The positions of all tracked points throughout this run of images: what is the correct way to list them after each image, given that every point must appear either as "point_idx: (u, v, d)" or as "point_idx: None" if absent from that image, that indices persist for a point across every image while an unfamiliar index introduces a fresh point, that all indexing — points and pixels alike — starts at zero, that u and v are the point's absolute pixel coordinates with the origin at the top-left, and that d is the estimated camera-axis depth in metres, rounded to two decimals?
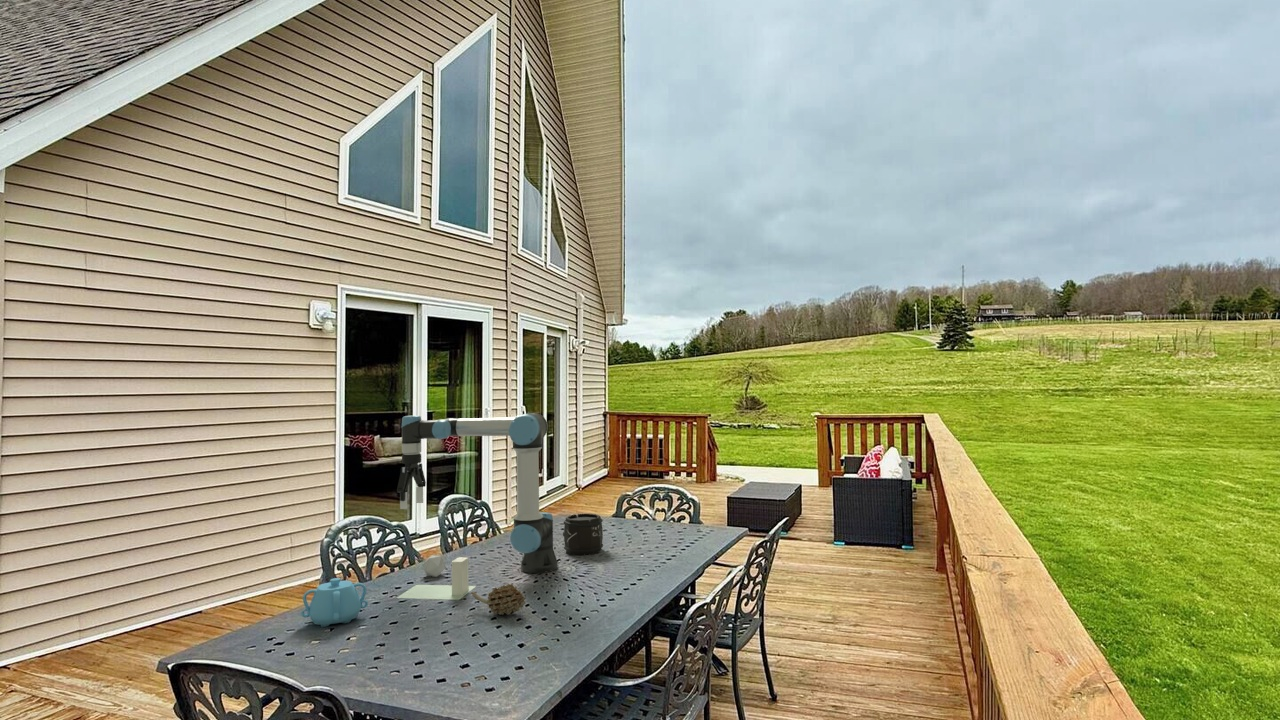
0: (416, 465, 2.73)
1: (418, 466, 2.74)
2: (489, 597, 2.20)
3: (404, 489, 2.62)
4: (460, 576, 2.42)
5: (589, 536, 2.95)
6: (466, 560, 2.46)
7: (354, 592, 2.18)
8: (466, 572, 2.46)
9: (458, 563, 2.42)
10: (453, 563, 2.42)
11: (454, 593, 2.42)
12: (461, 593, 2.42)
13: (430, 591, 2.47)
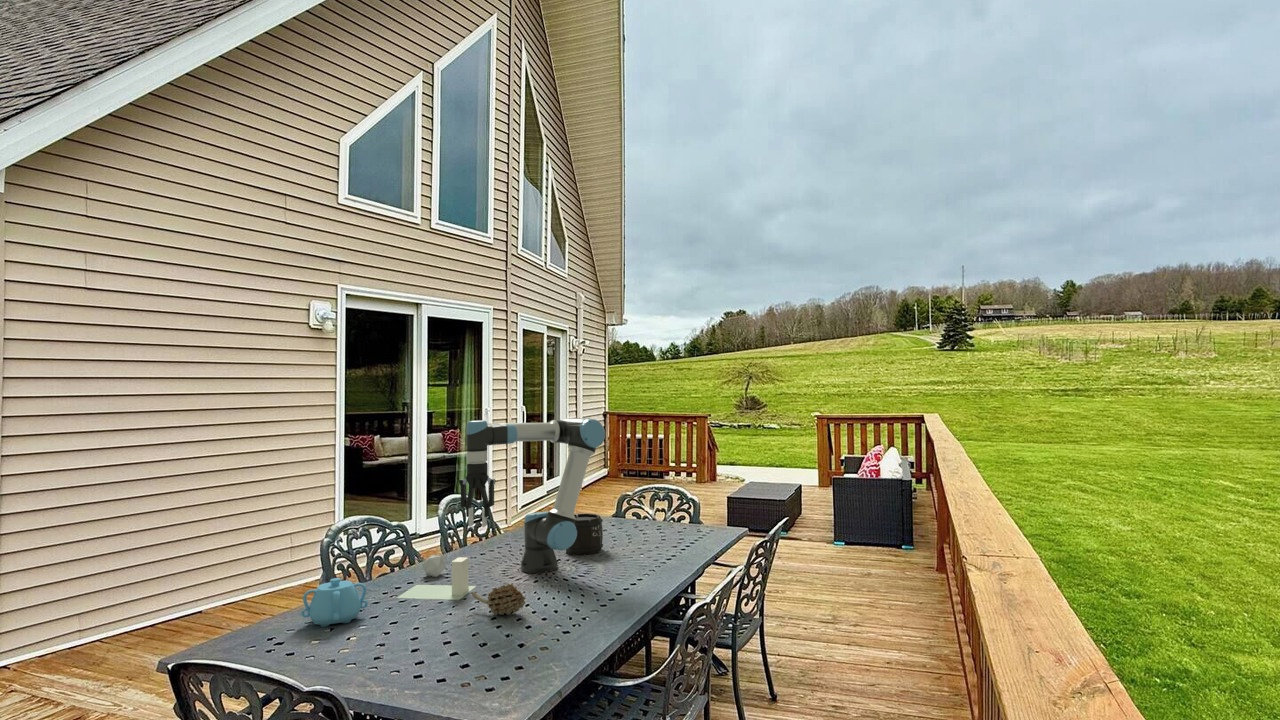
0: (482, 475, 2.44)
1: (485, 479, 2.44)
2: (489, 597, 2.20)
3: (466, 505, 2.45)
4: (460, 576, 2.42)
5: (589, 536, 2.95)
6: (466, 560, 2.46)
7: (354, 592, 2.18)
8: (466, 572, 2.46)
9: (458, 563, 2.42)
10: (453, 563, 2.42)
11: (454, 593, 2.42)
12: (461, 593, 2.42)
13: (430, 591, 2.47)
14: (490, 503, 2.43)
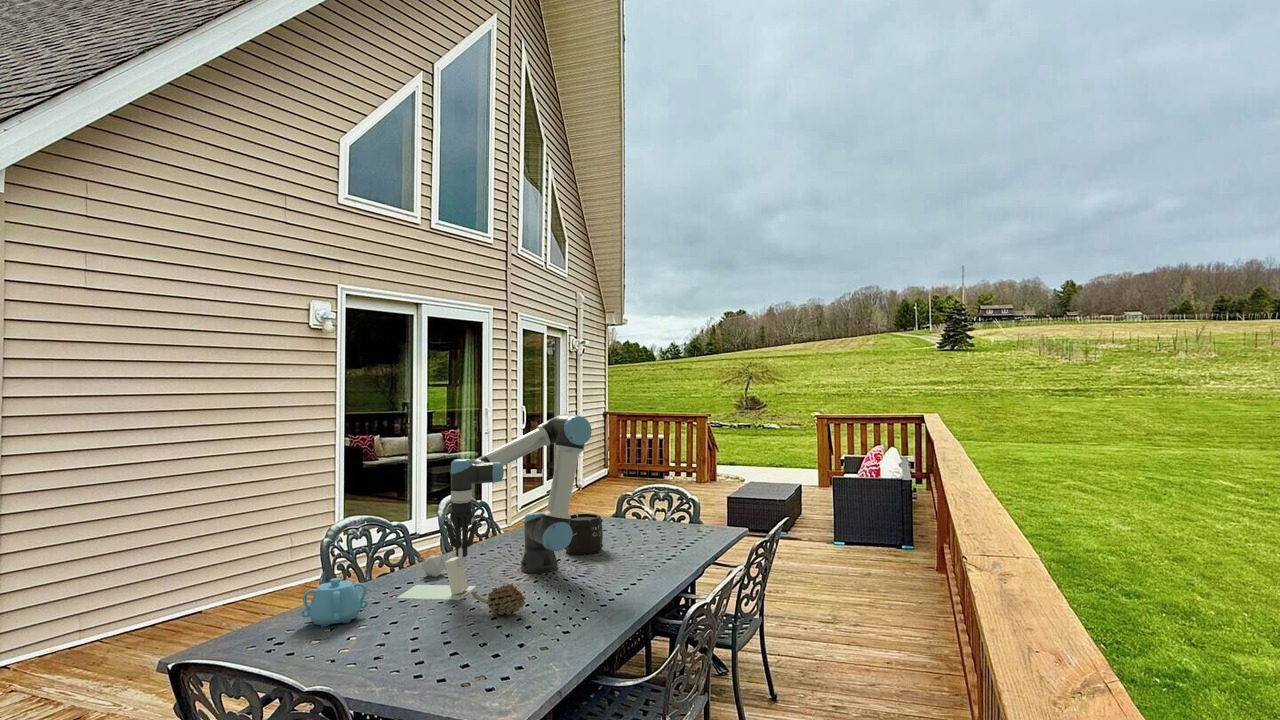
0: (467, 514, 2.44)
1: (469, 518, 2.44)
2: (489, 597, 2.20)
3: (455, 545, 2.45)
4: (456, 574, 2.42)
5: (589, 536, 2.95)
6: None
7: (354, 592, 2.18)
8: (462, 570, 2.46)
9: (451, 562, 2.42)
10: (447, 563, 2.43)
11: (454, 592, 2.42)
12: (460, 591, 2.42)
13: (430, 591, 2.47)
14: (469, 543, 2.44)
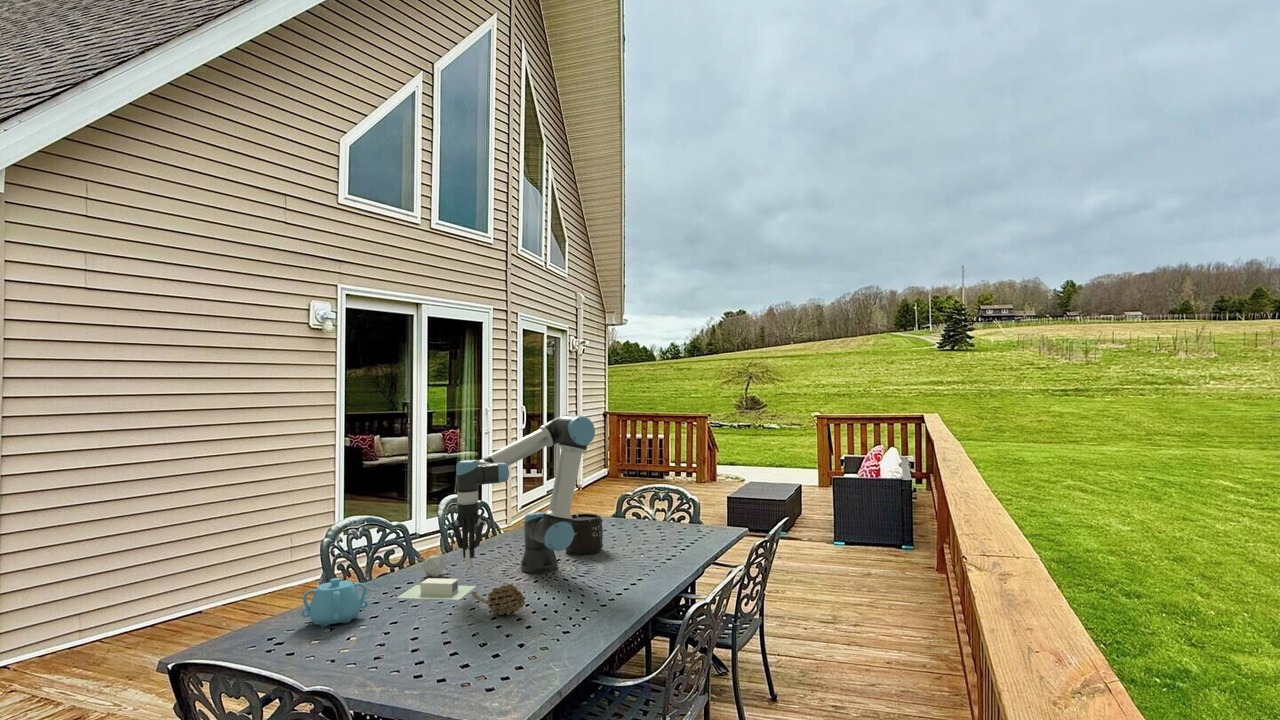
0: (473, 515, 2.44)
1: (476, 520, 2.44)
2: (489, 597, 2.20)
3: None
4: (434, 585, 2.43)
5: (589, 536, 2.95)
6: (427, 579, 2.48)
7: (354, 592, 2.18)
8: (438, 580, 2.47)
9: (422, 586, 2.44)
10: (422, 592, 2.44)
11: (450, 591, 2.42)
12: (450, 584, 2.42)
13: None
14: (475, 544, 2.44)
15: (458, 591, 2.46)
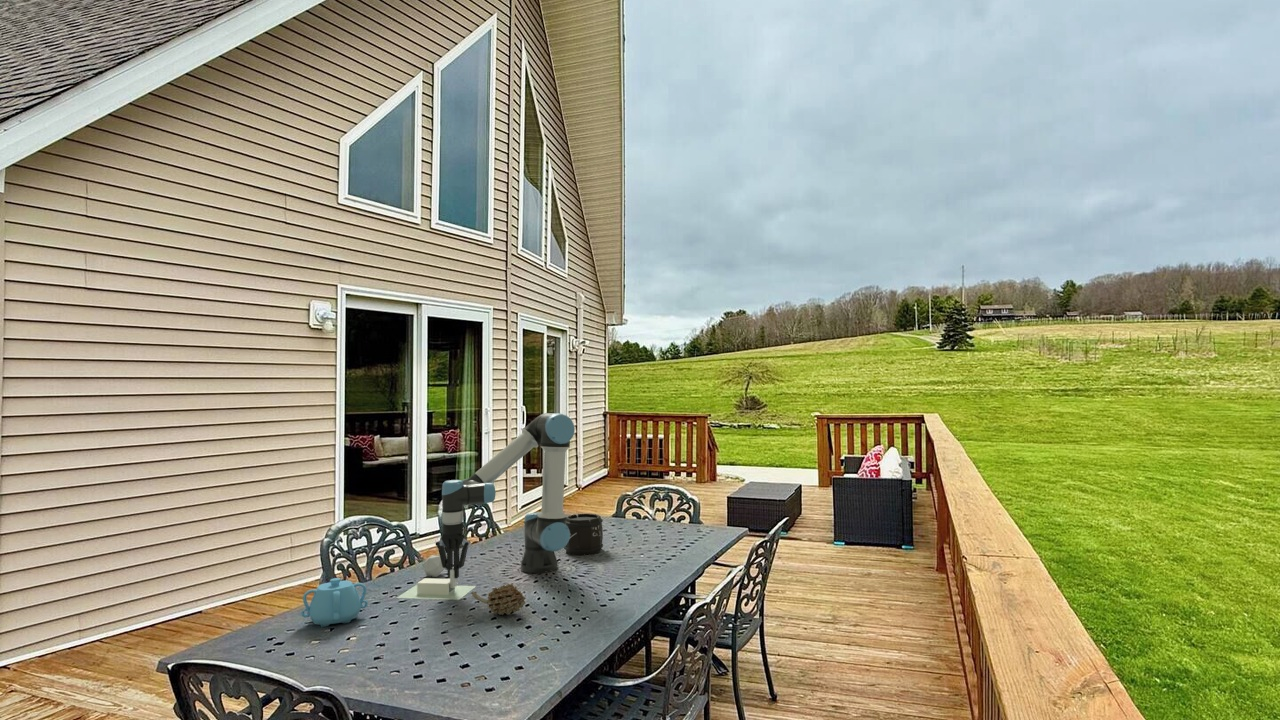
0: (458, 535, 2.44)
1: (461, 540, 2.44)
2: (489, 597, 2.20)
3: (447, 566, 2.45)
4: (430, 585, 2.43)
5: (589, 536, 2.95)
6: (423, 579, 2.48)
7: (354, 592, 2.18)
8: (434, 580, 2.47)
9: (418, 586, 2.44)
10: (418, 592, 2.44)
11: (447, 591, 2.42)
12: (446, 584, 2.43)
13: None
14: (460, 564, 2.44)
15: (458, 591, 2.46)
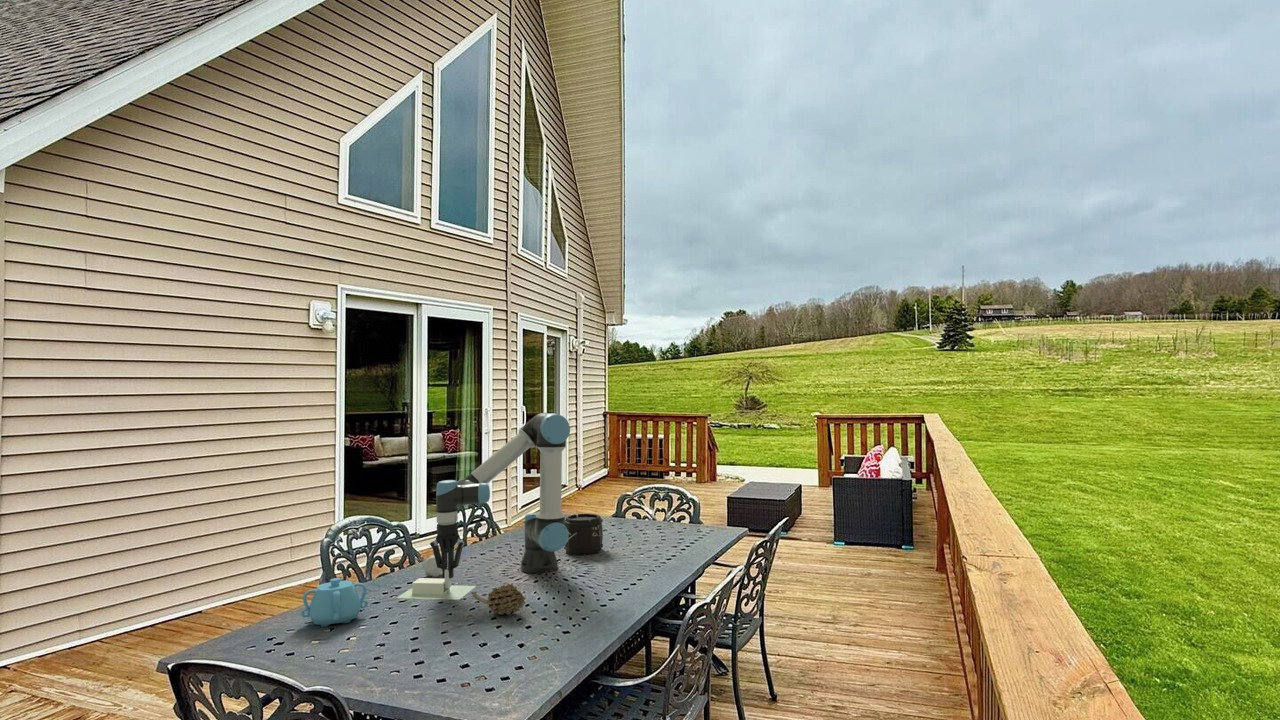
0: (453, 535, 2.45)
1: (455, 540, 2.45)
2: (489, 597, 2.20)
3: (441, 567, 2.45)
4: (425, 584, 2.44)
5: (589, 536, 2.95)
6: (418, 579, 2.48)
7: (354, 592, 2.18)
8: (429, 579, 2.48)
9: (413, 586, 2.44)
10: (413, 591, 2.44)
11: (441, 591, 2.43)
12: (441, 584, 2.43)
13: None
14: (454, 565, 2.44)
15: (458, 591, 2.46)
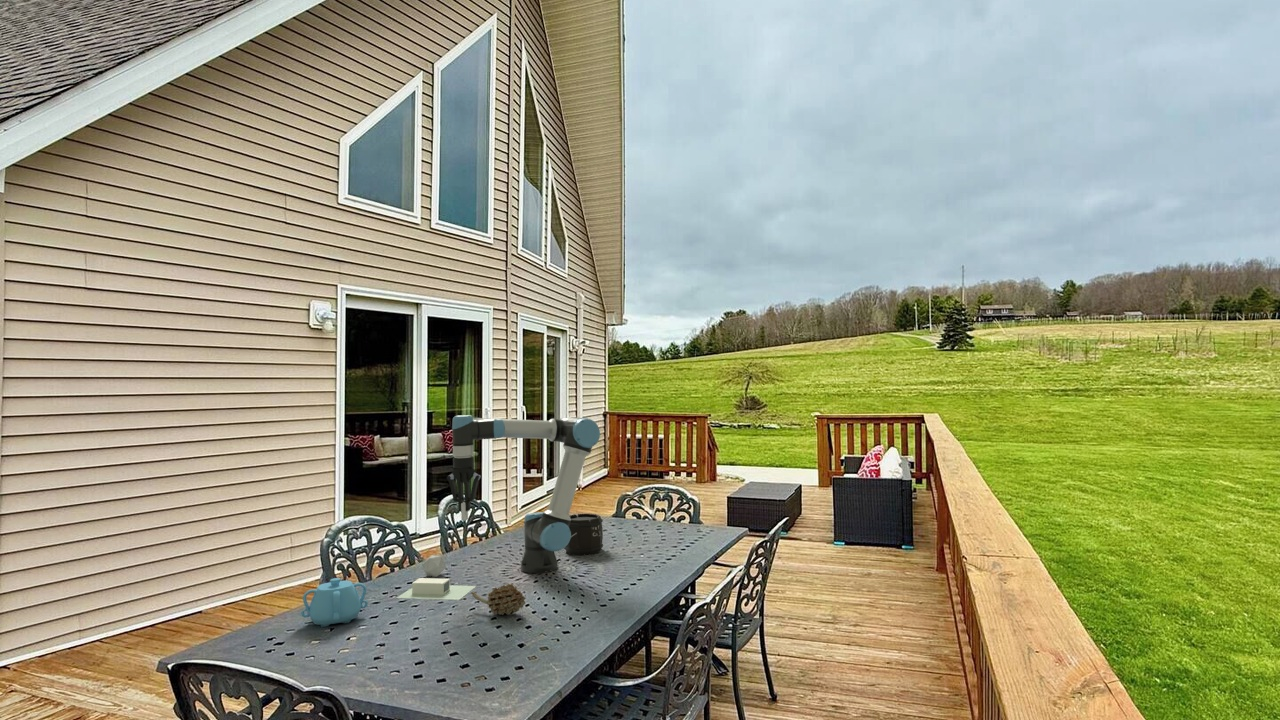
0: (469, 469, 2.47)
1: (472, 473, 2.47)
2: (489, 597, 2.20)
3: (458, 500, 2.47)
4: (425, 584, 2.44)
5: (589, 536, 2.95)
6: (418, 579, 2.48)
7: (354, 592, 2.18)
8: (429, 579, 2.48)
9: (413, 586, 2.44)
10: (413, 591, 2.44)
11: (441, 591, 2.43)
12: (441, 584, 2.43)
13: None
14: (471, 497, 2.46)
15: (458, 591, 2.46)
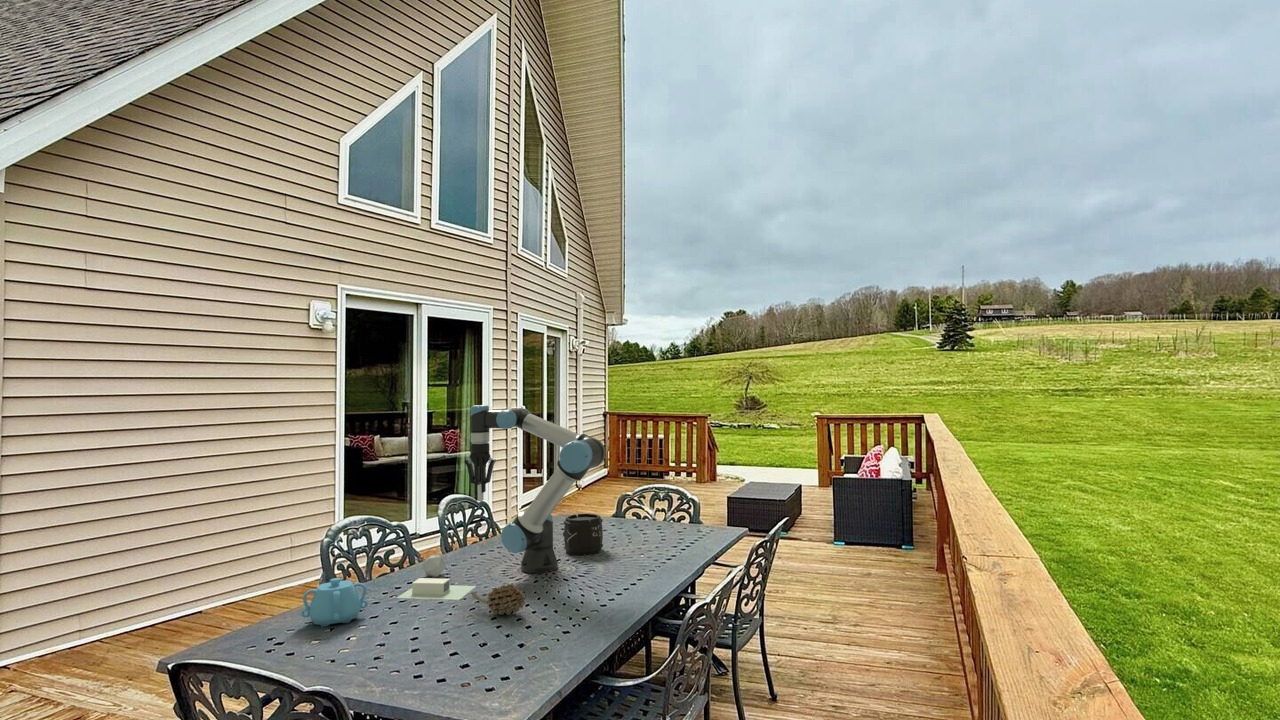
0: (485, 454, 2.71)
1: (487, 458, 2.71)
2: (489, 597, 2.20)
3: (475, 482, 2.71)
4: (425, 584, 2.44)
5: (589, 536, 2.95)
6: (418, 579, 2.48)
7: (354, 592, 2.18)
8: (429, 579, 2.48)
9: (413, 586, 2.44)
10: (413, 591, 2.44)
11: (441, 591, 2.43)
12: (441, 584, 2.43)
13: None
14: (487, 480, 2.71)
15: (458, 591, 2.46)
